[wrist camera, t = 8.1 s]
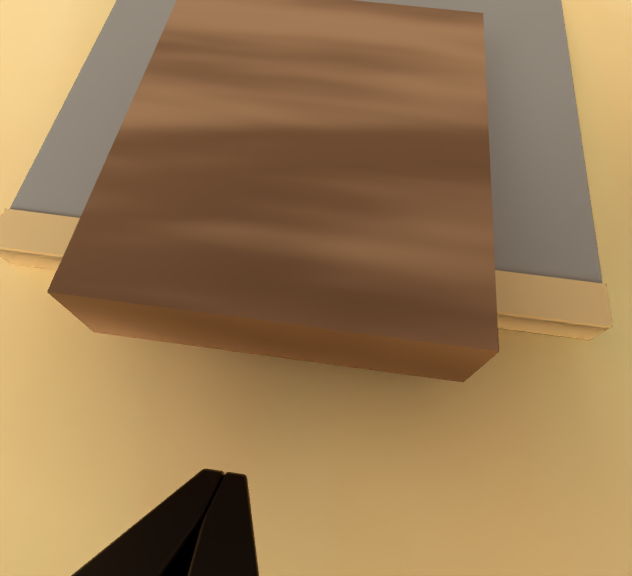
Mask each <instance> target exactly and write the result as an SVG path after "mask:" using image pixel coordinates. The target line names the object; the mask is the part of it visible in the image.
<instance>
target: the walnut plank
mask: <svg viewBox="0 0 632 576" xmlns="http://www.w3.org/2000/svg"><path fill="white" fill-rule="evenodd" d="M47 292H48V293H49V294H50V295H51V296H52V297H54V298H55V299H56V300H57V301H58V302H59V303H61V304H62V305H63V306H64V307H65V308H66V309H68V310H69V311H70V312H71V313H72V314H74V315H75V316H76V317H77V318H78V319H79V320H81V321H82V322H83V323H84V324H85V325H86V326H88V327H89V328H90V329H91V330H92V331H93V332H97V333H104V334H111V335H119V336H126V337H134V338H141V339H148V340H156V341H163V342H171V343H178V344H185V345H193V346H200V347H208V348H215V349H222V350H230V351H237V352H245V353H252V354H259V355H267V356H274V357H282V358H289V359H296V360H304V361H311V362H319V363H326V364H333V365H341V366H348V367H355V368H363V369H370V370H378V371H385V372H392V373H400V374H407V375H415V376H422V377H429V378H437V379H444V380H452V381H459V382H464V381H465V380H466V379H467V378H469V377H470V376H471V375H472V374H473V373H474V372H476V371H477V370H478V369H479V368H480V367H481V366H483V365H484V364H485V363H486V362H487V361H488V360H490V359H491V358H492V357H493V356H494V355H495V354H497V353H498V352H499V344H498V322H497V301H496V279H495V257H494V236H493V214H492V193H491V171H490V149H489V128H488V106H487V84H486V63H485V41H484V19H483V13H479V12H468V11H458V10H448V9H438V8H427V7H417V6H407V5H397V4H387V3H376V2H366V1H356V0H177V1H176V3H175V5H174V7H173V10H172V12H171V14H170V16H169V19H168V21H167V23H166V25H165V28H164V30H163V32H162V34H161V37H160V39H159V41H158V43H157V46H156V48H155V50H154V52H153V55H152V57H151V59H150V61H149V64H148V66H147V68H146V70H145V73H144V75H143V77H142V80H141V82H140V84H139V86H138V89H137V91H136V93H135V95H134V98H133V100H132V102H131V104H130V107H129V109H128V111H127V113H126V116H125V118H124V120H123V122H122V125H121V127H120V129H119V131H118V134H117V136H116V138H115V140H114V143H113V145H112V147H111V149H110V152H109V154H108V156H107V158H106V161H105V163H104V165H103V167H102V170H101V172H100V174H99V176H98V179H97V181H96V183H95V185H94V188H93V190H92V192H91V194H90V197H89V199H88V201H87V203H86V206H85V208H84V210H83V212H82V215H81V217H80V219H79V222H78V224H77V226H76V228H75V231H74V233H73V235H72V237H71V240H70V242H69V244H68V246H67V249H66V251H65V253H64V255H63V258H62V260H61V262H60V264H59V267H58V269H57V271H56V273H55V276H54V278H53V280H52V282H51V285H50V287H49V289H48V291H47Z"/></svg>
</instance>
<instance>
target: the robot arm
mask: <svg viewBox="0 0 632 576" xmlns="http://www.w3.org/2000/svg"><path fill="white" fill-rule="evenodd" d="M71 576H259V571H258V563H257V554H256V546H255V538H254V530H253V522H252V514H251V506H250V498H249V489H248V481H247V477H246V475H244V474H239V473H232V472H227V473H226V474H224V472H223V471H219V470H212V469H203V470H201V471H200V472H199V473H197V474H196V475H195V476H194V477H193V478H191V479H190V480H189V481H188V482H186V483H185V484H184V485H183V486H181V487H180V488H179V489H178V490H176V491H175V492H174V493H173V494H172V495H170V496H169V497H168V498H167V499H165V500H164V501H163V502H162V503H160V504H159V505H158V506H157V507H155V508H154V509H153V510H152V511H151V512H149V513H148V514H147V515H146V516H144V517H143V518H142V519H141V520H139V521H138V522H137V523H136V524H134V525H133V526H132V527H131V528H130V529H128V530H127V531H126V532H125V533H123V534H122V535H121V536H120V537H118V538H117V539H116V540H115V541H113V542H112V543H111V544H110V545H109V546H107V547H106V548H105V549H104V550H102V551H101V552H100V553H99V554H97V555H96V556H95V557H94V558H92V559H91V560H90V561H89V562H88V563H86V564H85V565H84V566H83V567H81V568H80V569H79V570H78V571H76V572H75V573H74V574H73V575H71Z"/></svg>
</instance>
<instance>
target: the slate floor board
mask: <svg viewBox="0 0 632 576" xmlns="http://www.w3.org/2000/svg"><path fill="white" fill-rule="evenodd" d="M176 1H177V0H117V1H116V3H115V5H114V7H113V9H112V11H111V13H110V15H109V17H108V18H107V20H106V22H105V24H104V26H103V28H102V30H101V32H100V34H99V36H98V38H97V40H96V42H95V44H94V46H93V48H92V50H91V52H90V54H89V56H88V57H87V59H86V61H85V63H84V65H83V67H82V69H81V71H80V73H79V75H78V77H77V79H76V81H75V83H74V85H73V87H72V89H71V91H70V93H69V94H68V96H67V98H66V100H65V102H64V104H63V106H62V108H61V110H60V112H59V114H58V116H57V118H56V120H55V122H54V124H53V126H52V128H51V130H50V132H49V133H48V135H47V137H46V139H45V141H44V143H43V145H42V147H41V149H40V151H39V153H38V155H37V157H36V159H35V161H34V163H33V165H32V167H31V169H30V170H29V172H28V174H27V176H26V178H25V180H24V182H23V184H22V186H21V188H20V190H19V192H18V194H17V196H16V198H15V200H14V202H13V204H12V206H11V208H10V209H5V210H4V212H3V214H2V216H1V218H0V257H2V258H3V259H4V260H5V261H7V262H8V263H9V264H15V265H23V266H31V267H38V268H46V269H53V270H57V269H58V267H59V264H60V262H61V260H62V258H63V255H64V253H65V251H66V249H67V246H68V244H69V242H70V240H71V237H72V235H73V233H74V231H75V228H76V226H77V224H78V222H79V219H80V217H81V215H82V212H83V210H84V208H85V206H86V203H87V201H88V199H89V197H90V194H91V192H92V190H93V188H94V185H95V183H96V181H97V179H98V176H99V174H100V172H101V170H102V167H103V165H104V163H105V161H106V158H107V156H108V154H109V152H110V149H111V147H112V145H113V143H114V140H115V138H116V136H117V134H118V131H119V129H120V127H121V125H122V122H123V120H124V118H125V116H126V113H127V111H128V109H129V107H130V104H131V102H132V100H133V98H134V95H135V93H136V91H137V89H138V86H139V84H140V82H141V80H142V77H143V75H144V73H145V70H146V68H147V66H148V64H149V61H150V59H151V57H152V55H153V52H154V50H155V48H156V46H157V43H158V41H159V39H160V37H161V34H162V32H163V30H164V28H165V25H166V23H167V21H168V19H169V16H170V14H171V12H172V10H173V7H174V5H175V3H176ZM356 1H366V2H376V3H387V4H397V5H407V6H417V7H427V8H438V9H448V10H458V11H468V12H479V13H483V19H484V41H485V63H486V84H487V106H488V128H489V149H490V171H491V193H492V214H493V236H494V257H495V279H496V301H497V322H498V328H502V329H510V330H517V331H525V332H533V333H540V334H548V335H555V336H563V337H571V338H578V339H586V340H590V339H592V338H594V337H595V336H597V335H599V334H601V333H602V332H604V331H606V330H607V329H609V328H611V327H613V326H612V319H611V312H610V306H609V299H608V292H607V286H606V284H602V277H601V270H600V263H599V256H598V249H597V243H596V236H595V229H594V222H593V215H592V208H591V202H590V195H589V188H588V181H587V174H586V167H585V161H584V154H583V147H582V140H581V133H580V126H579V119H578V113H577V106H576V99H575V92H574V85H573V78H572V72H571V65H570V58H569V51H568V44H567V37H566V31H565V24H564V17H563V10H562V3H561V0H356Z"/></svg>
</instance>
